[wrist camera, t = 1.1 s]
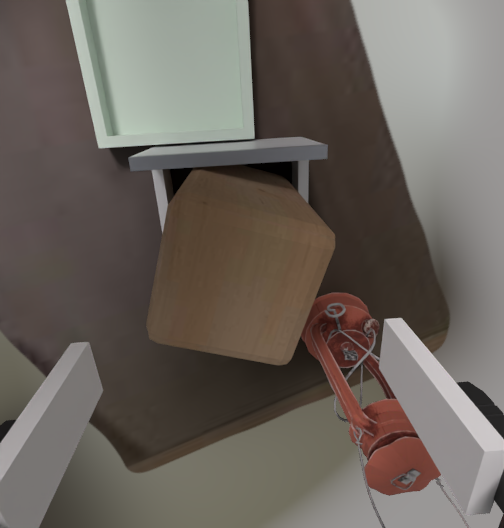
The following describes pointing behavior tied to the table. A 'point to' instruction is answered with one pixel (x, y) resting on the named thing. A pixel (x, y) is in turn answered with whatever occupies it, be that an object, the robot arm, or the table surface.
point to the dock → (226, 160)
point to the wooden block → (238, 265)
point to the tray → (165, 69)
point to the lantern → (375, 414)
